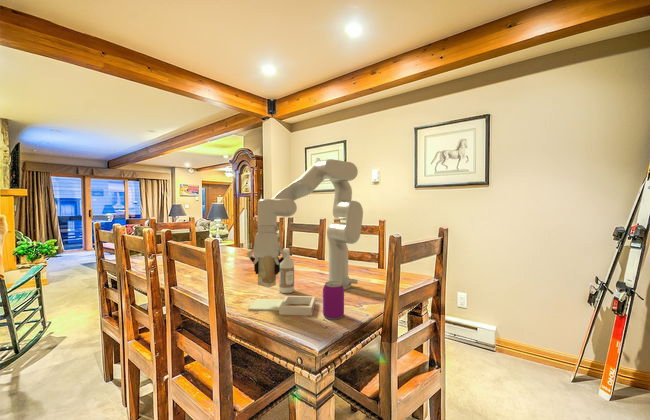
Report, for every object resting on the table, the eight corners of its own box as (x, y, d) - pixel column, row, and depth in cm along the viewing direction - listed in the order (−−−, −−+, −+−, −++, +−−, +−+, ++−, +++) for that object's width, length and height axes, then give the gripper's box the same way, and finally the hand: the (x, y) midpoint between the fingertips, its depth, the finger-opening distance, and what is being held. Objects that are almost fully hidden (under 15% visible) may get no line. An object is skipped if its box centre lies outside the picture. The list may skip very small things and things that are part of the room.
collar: (315, 303, 114) (315, 296, 114) (311, 315, 102) (311, 307, 102) (286, 302, 114) (286, 295, 114) (279, 314, 103) (279, 306, 102)
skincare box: (257, 285, 112) (257, 255, 111) (265, 282, 115) (265, 253, 115) (269, 288, 108) (269, 256, 108) (276, 285, 112) (276, 255, 112)
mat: (285, 300, 117) (285, 299, 117) (279, 310, 106) (278, 309, 106) (257, 299, 118) (257, 298, 118) (248, 309, 107) (248, 308, 107)
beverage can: (319, 318, 99) (319, 285, 99) (327, 310, 106) (327, 279, 106) (340, 322, 96) (340, 287, 96) (346, 313, 103) (346, 281, 103)
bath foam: (283, 294, 125) (282, 250, 124) (276, 290, 131) (276, 248, 130) (296, 291, 129) (296, 249, 128) (290, 288, 134) (289, 247, 134)
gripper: (290, 229, 114) (290, 271, 115) (249, 228, 116) (249, 270, 116) (286, 230, 107) (286, 276, 107) (242, 230, 108) (242, 275, 108)
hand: (267, 273), depth 112 cm, fingers closed on skincare box, 7 cm apart
